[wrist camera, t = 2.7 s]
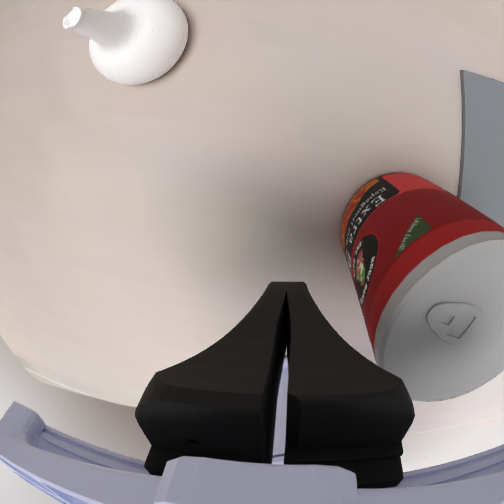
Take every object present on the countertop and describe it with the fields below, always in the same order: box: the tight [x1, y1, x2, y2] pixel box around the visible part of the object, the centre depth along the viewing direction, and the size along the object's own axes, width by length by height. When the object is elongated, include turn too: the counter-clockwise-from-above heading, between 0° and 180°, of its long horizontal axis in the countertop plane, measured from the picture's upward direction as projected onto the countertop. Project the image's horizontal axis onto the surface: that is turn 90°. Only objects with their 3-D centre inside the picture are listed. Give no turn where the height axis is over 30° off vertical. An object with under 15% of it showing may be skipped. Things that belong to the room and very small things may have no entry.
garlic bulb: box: [63, 0, 188, 85], centre depth 12 cm, size 6×6×8 cm
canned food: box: [341, 173, 504, 402], centre depth 13 cm, size 8×8×11 cm
